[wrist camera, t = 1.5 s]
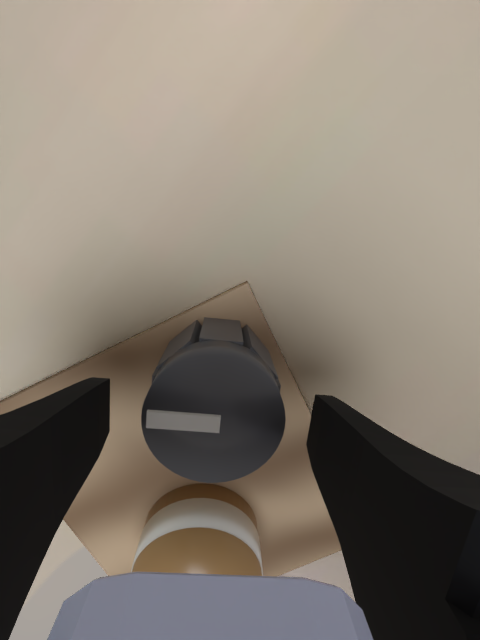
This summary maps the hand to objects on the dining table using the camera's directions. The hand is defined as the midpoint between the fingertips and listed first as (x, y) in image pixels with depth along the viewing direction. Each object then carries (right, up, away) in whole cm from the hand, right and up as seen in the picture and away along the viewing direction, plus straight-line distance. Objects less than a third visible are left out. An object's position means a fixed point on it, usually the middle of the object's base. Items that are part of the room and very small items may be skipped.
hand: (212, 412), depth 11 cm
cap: (0, +1, +4) cm, 4 cm away
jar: (-1, -8, +6) cm, 10 cm away
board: (-2, -5, +6) cm, 8 cm away
